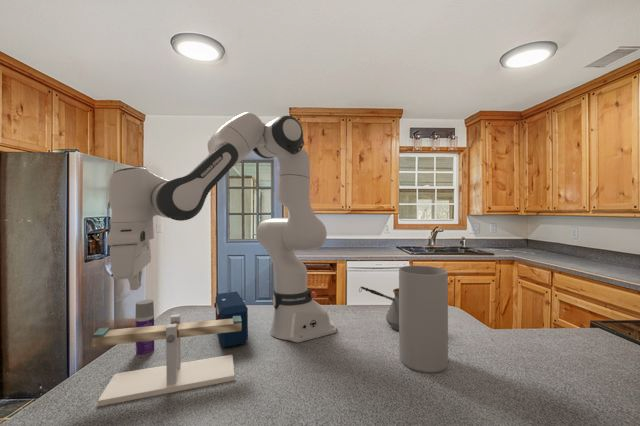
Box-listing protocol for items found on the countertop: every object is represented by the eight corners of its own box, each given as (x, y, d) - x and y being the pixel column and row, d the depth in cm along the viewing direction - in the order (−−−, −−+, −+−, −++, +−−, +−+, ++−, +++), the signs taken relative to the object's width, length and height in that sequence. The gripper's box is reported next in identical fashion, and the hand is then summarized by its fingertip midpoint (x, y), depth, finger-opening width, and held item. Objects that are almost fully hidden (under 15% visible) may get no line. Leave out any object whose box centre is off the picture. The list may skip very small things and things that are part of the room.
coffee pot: (410, 320, 109) (410, 280, 109) (425, 332, 98) (425, 288, 98) (355, 323, 107) (355, 282, 107) (364, 336, 95) (363, 291, 95)
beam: (240, 326, 79) (240, 315, 79) (241, 332, 75) (241, 321, 75) (99, 340, 68) (99, 327, 68) (91, 349, 64) (92, 335, 64)
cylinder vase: (413, 346, 88) (412, 264, 88) (455, 361, 79) (455, 269, 79) (390, 361, 79) (390, 270, 79) (435, 380, 70) (435, 277, 70)
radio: (213, 326, 105) (213, 271, 105) (238, 322, 108) (238, 268, 108) (219, 351, 86) (218, 284, 86) (249, 345, 89) (248, 281, 89)
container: (145, 357, 83) (145, 304, 83) (131, 356, 84) (131, 303, 83) (158, 349, 87) (157, 299, 87) (144, 348, 88) (144, 299, 88)
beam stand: (232, 358, 82) (231, 306, 81) (234, 380, 71) (234, 320, 71) (115, 378, 72) (114, 319, 72) (97, 406, 62) (96, 338, 62)
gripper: (129, 230, 80) (132, 279, 81) (102, 238, 61) (106, 303, 62) (155, 229, 83) (158, 277, 83) (137, 236, 63) (140, 299, 64)
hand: (135, 288), depth 72 cm, fingers closed
